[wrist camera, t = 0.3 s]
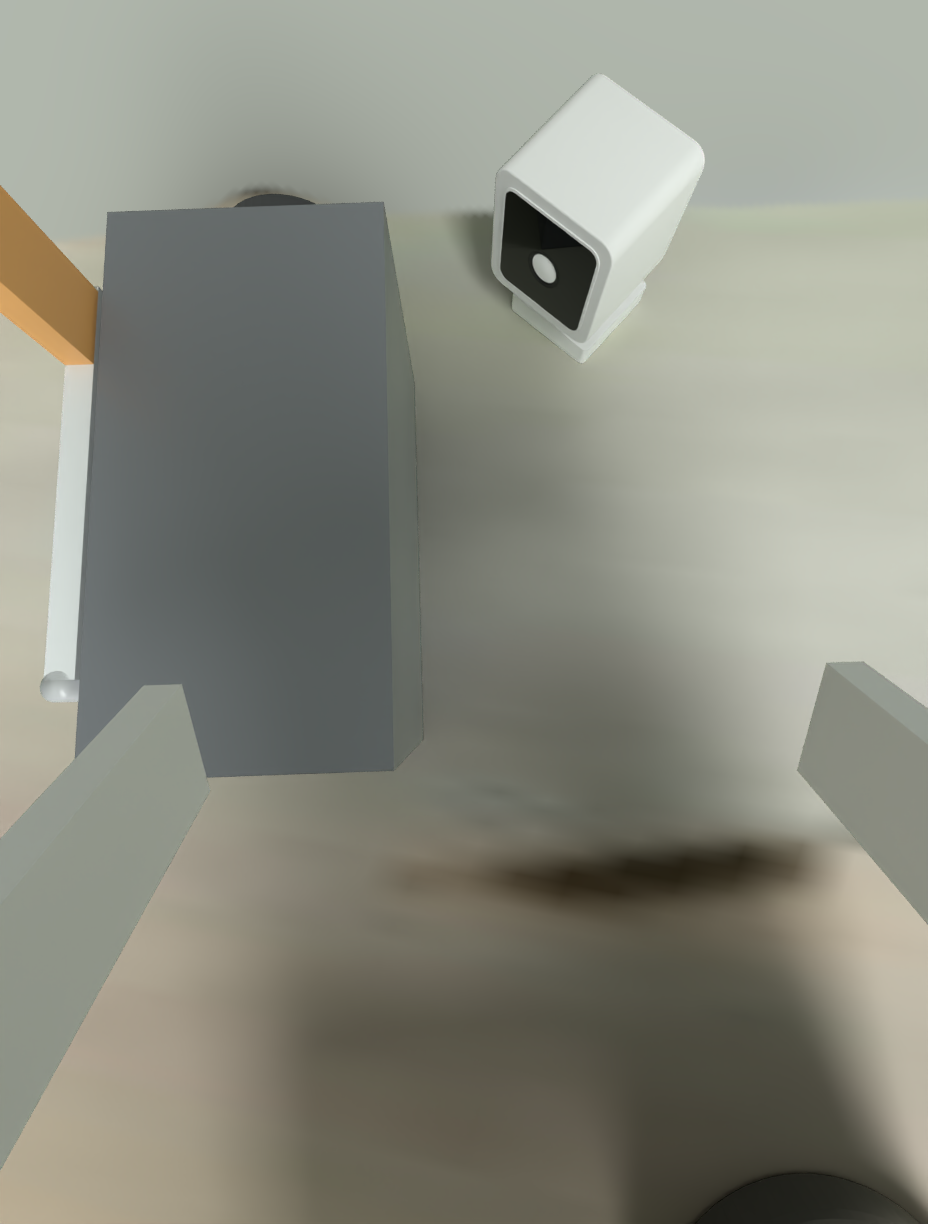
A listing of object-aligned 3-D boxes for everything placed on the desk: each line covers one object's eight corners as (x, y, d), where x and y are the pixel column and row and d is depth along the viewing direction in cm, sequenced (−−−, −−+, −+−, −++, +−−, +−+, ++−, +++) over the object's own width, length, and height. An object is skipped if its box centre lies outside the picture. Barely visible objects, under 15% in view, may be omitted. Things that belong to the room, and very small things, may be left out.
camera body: (423, 739, 29) (394, 770, 18) (231, 746, 30) (73, 782, 18) (413, 334, 33) (382, 129, 21) (240, 340, 33) (111, 139, 21)
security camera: (486, 321, 33) (494, 161, 23) (564, 240, 34) (604, 51, 24) (570, 388, 32) (615, 253, 22) (647, 304, 33) (724, 137, 23)
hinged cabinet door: (222, 698, 29) (-75, 704, 13) (201, 699, 29) (-122, 706, 13) (229, 430, 31) (-21, 154, 15) (209, 431, 31) (-62, 156, 15)
